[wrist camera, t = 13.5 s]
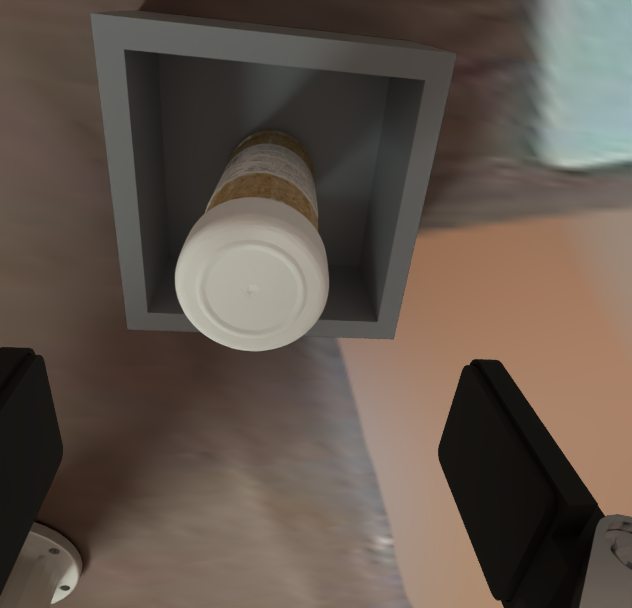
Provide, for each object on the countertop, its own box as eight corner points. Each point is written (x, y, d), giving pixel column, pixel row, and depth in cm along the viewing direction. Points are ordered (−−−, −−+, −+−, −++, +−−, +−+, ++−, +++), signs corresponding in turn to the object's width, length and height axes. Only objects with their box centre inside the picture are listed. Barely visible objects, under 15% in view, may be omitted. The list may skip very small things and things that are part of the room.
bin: (369, 274, 31) (393, 339, 25) (156, 263, 29) (127, 329, 23) (411, 40, 24) (457, 53, 18) (137, 10, 23) (90, 13, 17)
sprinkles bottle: (271, 229, 27) (253, 381, 16) (209, 169, 26) (137, 290, 14) (332, 174, 26) (362, 295, 14) (272, 106, 24) (249, 181, 13)
